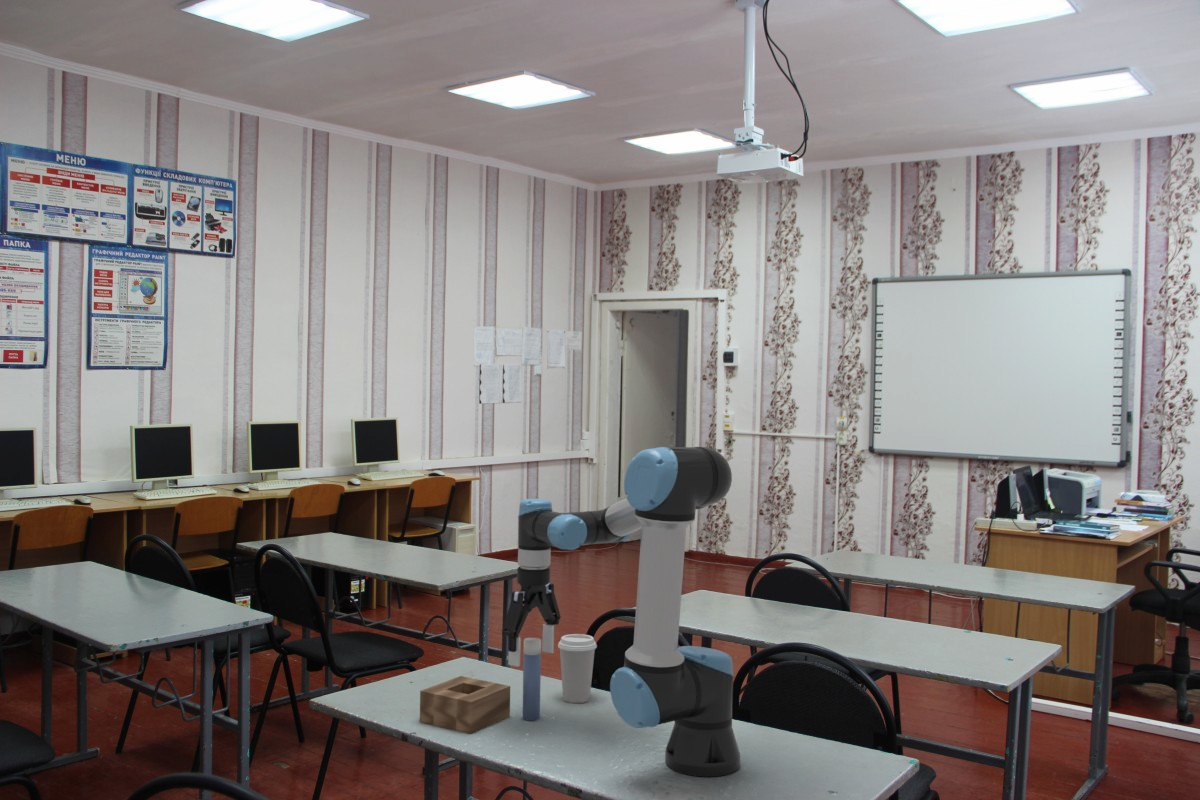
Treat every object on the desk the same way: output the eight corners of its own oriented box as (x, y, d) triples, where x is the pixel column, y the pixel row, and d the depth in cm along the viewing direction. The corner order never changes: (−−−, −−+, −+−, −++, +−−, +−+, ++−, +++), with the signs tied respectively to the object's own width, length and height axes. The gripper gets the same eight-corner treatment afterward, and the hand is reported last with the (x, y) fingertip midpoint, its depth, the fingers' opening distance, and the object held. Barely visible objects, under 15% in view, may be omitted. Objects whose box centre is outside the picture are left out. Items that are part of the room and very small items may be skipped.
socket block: (509, 716, 230) (510, 686, 230) (470, 734, 218) (471, 702, 218) (460, 705, 238) (460, 676, 238) (419, 721, 225) (420, 690, 225)
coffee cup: (603, 697, 246) (604, 636, 246) (581, 707, 238) (583, 644, 238) (571, 691, 251) (572, 631, 251) (549, 700, 243) (550, 638, 243)
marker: (543, 717, 230) (544, 639, 230) (533, 722, 227) (534, 642, 226) (528, 714, 232) (530, 636, 232) (518, 718, 229) (520, 640, 229)
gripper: (550, 557, 242) (547, 644, 242) (487, 572, 220) (485, 668, 221) (576, 560, 238) (574, 649, 238) (515, 576, 217) (512, 674, 217)
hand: (531, 658), depth 229 cm, fingers open, 13 cm apart
